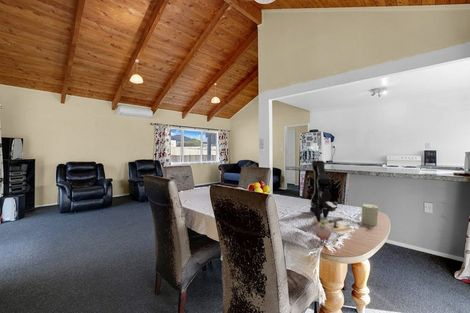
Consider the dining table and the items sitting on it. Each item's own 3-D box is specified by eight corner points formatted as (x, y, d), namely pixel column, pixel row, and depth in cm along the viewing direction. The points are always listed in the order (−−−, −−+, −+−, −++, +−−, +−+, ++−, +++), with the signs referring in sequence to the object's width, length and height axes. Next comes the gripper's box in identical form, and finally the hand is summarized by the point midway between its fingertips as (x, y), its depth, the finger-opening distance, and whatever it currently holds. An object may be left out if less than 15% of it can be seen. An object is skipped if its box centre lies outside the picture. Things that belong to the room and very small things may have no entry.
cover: (313, 221, 143) (313, 216, 143) (319, 219, 146) (319, 215, 146) (324, 225, 136) (325, 220, 136) (330, 223, 140) (330, 218, 140)
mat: (292, 226, 138) (292, 225, 138) (302, 222, 144) (302, 222, 144) (305, 231, 130) (305, 231, 130) (315, 227, 136) (315, 227, 136)
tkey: (331, 229, 130) (331, 221, 130) (327, 228, 132) (328, 220, 132) (342, 225, 136) (343, 218, 136) (339, 224, 138) (339, 217, 138)
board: (308, 224, 141) (308, 222, 141) (321, 220, 150) (321, 217, 149) (341, 236, 124) (341, 234, 124) (354, 231, 132) (354, 228, 132)
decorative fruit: (332, 244, 114) (333, 226, 114) (315, 242, 116) (316, 224, 116) (329, 237, 123) (330, 219, 123) (314, 235, 125) (315, 218, 125)
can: (369, 226, 140) (370, 207, 139) (357, 221, 149) (358, 203, 148) (380, 224, 142) (381, 206, 141) (368, 219, 151) (369, 202, 150)
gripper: (326, 202, 128) (325, 228, 129) (342, 197, 139) (341, 221, 140) (309, 198, 137) (308, 222, 138) (326, 193, 148) (325, 216, 149)
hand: (321, 220), depth 141 cm, fingers open, 7 cm apart
